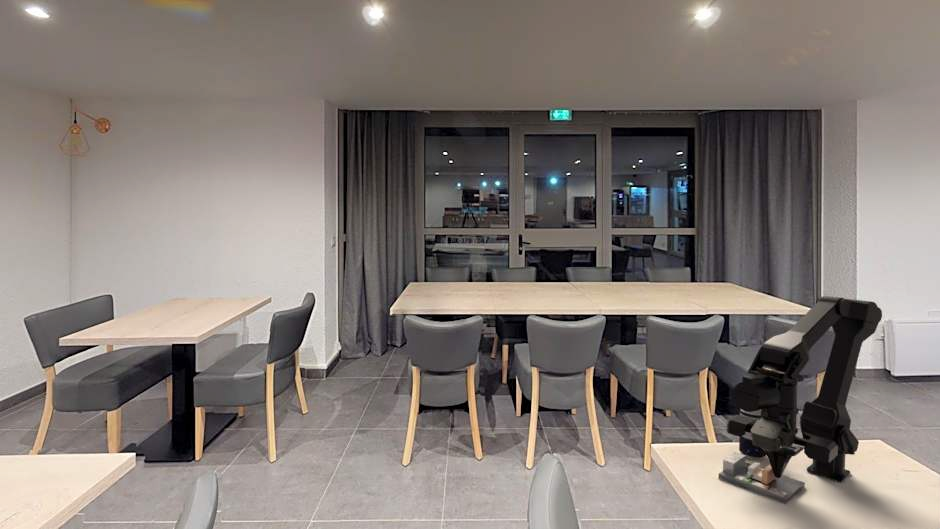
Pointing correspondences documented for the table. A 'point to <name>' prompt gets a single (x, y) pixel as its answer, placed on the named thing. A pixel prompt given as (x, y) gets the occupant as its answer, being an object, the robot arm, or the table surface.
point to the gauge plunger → (760, 473)
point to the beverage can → (750, 439)
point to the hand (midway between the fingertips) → (777, 477)
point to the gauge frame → (776, 489)
